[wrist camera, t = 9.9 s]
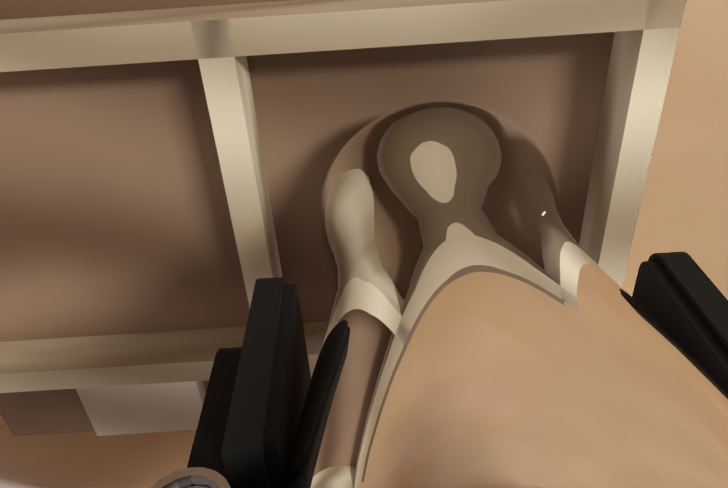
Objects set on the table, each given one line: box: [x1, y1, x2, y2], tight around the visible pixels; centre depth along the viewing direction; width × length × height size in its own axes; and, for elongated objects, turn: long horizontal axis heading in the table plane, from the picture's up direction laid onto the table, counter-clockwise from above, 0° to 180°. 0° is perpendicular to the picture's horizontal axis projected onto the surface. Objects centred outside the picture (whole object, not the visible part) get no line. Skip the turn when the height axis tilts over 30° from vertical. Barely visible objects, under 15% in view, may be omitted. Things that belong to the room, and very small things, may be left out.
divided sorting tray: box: [0, 0, 686, 436], centre depth 18 cm, size 15×21×3 cm
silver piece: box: [282, 101, 728, 488], centre depth 9 cm, size 7×7×15 cm
